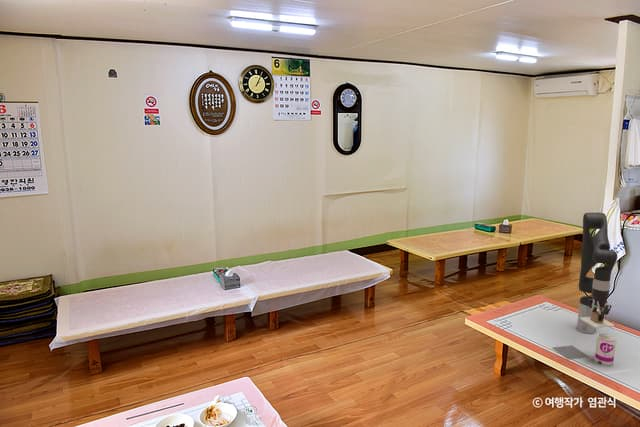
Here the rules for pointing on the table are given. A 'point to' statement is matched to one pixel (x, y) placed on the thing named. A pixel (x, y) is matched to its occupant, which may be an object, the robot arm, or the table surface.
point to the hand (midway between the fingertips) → (597, 318)
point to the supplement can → (605, 349)
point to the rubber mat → (570, 352)
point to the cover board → (597, 325)
